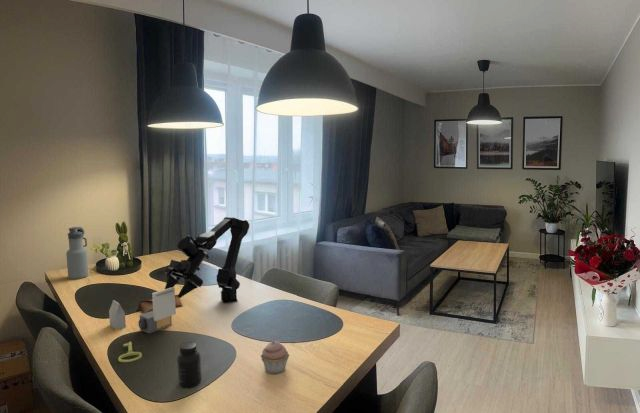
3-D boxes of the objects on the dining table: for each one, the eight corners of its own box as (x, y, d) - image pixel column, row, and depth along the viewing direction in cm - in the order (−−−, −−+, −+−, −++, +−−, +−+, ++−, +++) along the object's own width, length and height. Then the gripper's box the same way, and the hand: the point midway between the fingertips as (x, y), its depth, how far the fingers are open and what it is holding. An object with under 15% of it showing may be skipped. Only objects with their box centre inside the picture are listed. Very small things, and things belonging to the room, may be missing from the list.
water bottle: (76, 273, 235) (73, 225, 231) (92, 274, 234) (89, 226, 230) (64, 279, 225) (59, 229, 221) (80, 279, 224) (76, 229, 220)
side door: (173, 313, 166) (172, 287, 164) (176, 314, 165) (175, 287, 163) (153, 320, 159) (152, 293, 157) (155, 321, 158) (154, 294, 156)
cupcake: (261, 362, 137) (261, 334, 135) (289, 361, 137) (289, 333, 136) (259, 377, 127) (258, 347, 126) (289, 377, 128) (288, 346, 127)
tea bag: (116, 330, 161) (114, 305, 160) (109, 324, 166) (108, 301, 165) (125, 327, 164) (124, 303, 163) (119, 322, 169) (117, 298, 167)
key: (131, 346, 149) (130, 340, 148) (144, 358, 140) (143, 352, 140) (110, 352, 144) (109, 347, 144) (121, 366, 135) (121, 360, 135)
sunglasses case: (142, 314, 176) (140, 299, 178) (140, 317, 182) (137, 303, 184) (184, 305, 186) (182, 291, 189) (181, 309, 192) (178, 295, 194)
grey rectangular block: (163, 321, 169) (162, 307, 169) (171, 325, 166) (171, 310, 165) (137, 330, 161) (136, 316, 160) (146, 334, 157) (145, 319, 156)
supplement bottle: (192, 374, 129) (190, 338, 128) (206, 381, 126) (205, 344, 124) (173, 384, 124) (171, 346, 122) (187, 391, 120) (186, 353, 118)
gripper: (167, 248, 171) (144, 280, 164) (195, 255, 160) (172, 290, 153) (184, 262, 178) (163, 294, 171) (212, 269, 167) (190, 303, 160)
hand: (171, 295), depth 164 cm, fingers open, 9 cm apart
